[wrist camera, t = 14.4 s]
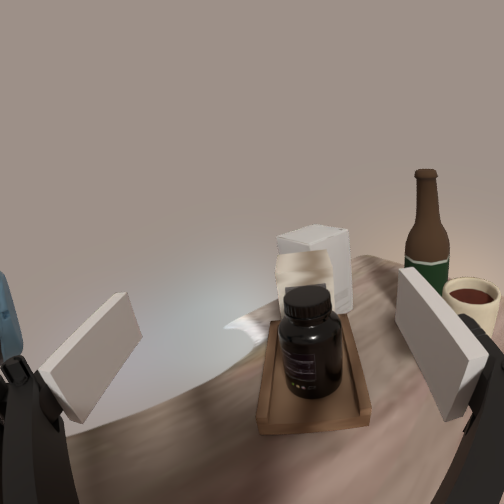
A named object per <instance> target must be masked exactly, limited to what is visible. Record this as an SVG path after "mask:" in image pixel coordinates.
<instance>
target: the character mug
mask: <svg viewBox="0 0 504 504" xmlns="http://www.w3.org/2000/svg"><path fill="white" fill-rule="evenodd" d="M442 298H443V299H444V300H445V301H446V303H447V304H448V305H449V306H450V307H451V308H452V309H453V311H454V312H455V313H456V314H457V315H458V314H463V313H464V314H466V315H468V316H470V317H471V318H473V319H474V320H475V321H476V322H477V323H478V324H479V325H480V327H481V328H482V329H483V330H484V331H485V332H486V334H487V335H488V336H489V337H490V338H491V337H492V334H493V330H494V326H495V322H496V318H497V313H498V309H499V304H500V299H501V292H500V290H499V288H498V287H497V286H496V285H494V284H493V283H491V282H489V281H487V280H485V279H480V278H475V277H460V278H454V279H451V280H449V281H447V282H446V283H445V285H444V287H443V293H442Z"/></svg>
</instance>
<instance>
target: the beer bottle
mask: <svg viewBox="0 0 504 504" xmlns="http://www.w3.org/2000/svg"><path fill="white" fill-rule="evenodd" d="M414 177H415V178H416V179H417V209H416V219H415V224H414V226H413V228H412V229H411V231H410V233H409V235H408V238H407V241H406V246H405V267H404V268H409V267H414V268H415V269H416V270H417V271H418V272H419V273H420V274H421V275H422V276H423V277H424V278H425V280H426V281H427V282H428V283H429V284H430V285H431V286H432V287H433V288H434V289H435V290H436V291H437V293H438V294H439V295H440V296H441V297H442V293H443V287H444V285H445V283H446V282H447V281H448V269H449V256H450V247H449V246H450V244H449V239H448V235H447V232H446V230H445V229H444V227H443V225H442V224H441V220H440V214H439V205H438V193H437V183H436V178H437V177H438V176H437V173H436V170H434V169H418V170H416V171H415V176H414Z"/></svg>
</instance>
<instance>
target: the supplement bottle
mask: <svg viewBox="0 0 504 504" xmlns="http://www.w3.org/2000/svg"><path fill="white" fill-rule="evenodd" d="M283 303H284V314H285V316H284V317H283V319H282V320H281V322H280V324H279V327H278V335H279V341H280V347H281V354H282V360H283V366H284V373H285V379H286V384H287V387H288V389H289V390H290V391H291V392H292V393H293V394H294V395H296V396H298V397H300V398H303V399H320V398H324V397H326V396H329V395H330V394H332V393H333V392H335V391H336V390H337V389H338V387H339V386H340V384H341V382H342V376H343V346H342V323H341V319H340V318H339V316H338V315H337V314H336V313H335V312H334V311H333V310H332V303H331V295H330V292H329V290H328V289H326V288H324V287H321V286H317V285H307V286H301V287H297V288H294V289H292V290H290V291H288V292H287V293H286V294H285V295H284V297H283Z"/></svg>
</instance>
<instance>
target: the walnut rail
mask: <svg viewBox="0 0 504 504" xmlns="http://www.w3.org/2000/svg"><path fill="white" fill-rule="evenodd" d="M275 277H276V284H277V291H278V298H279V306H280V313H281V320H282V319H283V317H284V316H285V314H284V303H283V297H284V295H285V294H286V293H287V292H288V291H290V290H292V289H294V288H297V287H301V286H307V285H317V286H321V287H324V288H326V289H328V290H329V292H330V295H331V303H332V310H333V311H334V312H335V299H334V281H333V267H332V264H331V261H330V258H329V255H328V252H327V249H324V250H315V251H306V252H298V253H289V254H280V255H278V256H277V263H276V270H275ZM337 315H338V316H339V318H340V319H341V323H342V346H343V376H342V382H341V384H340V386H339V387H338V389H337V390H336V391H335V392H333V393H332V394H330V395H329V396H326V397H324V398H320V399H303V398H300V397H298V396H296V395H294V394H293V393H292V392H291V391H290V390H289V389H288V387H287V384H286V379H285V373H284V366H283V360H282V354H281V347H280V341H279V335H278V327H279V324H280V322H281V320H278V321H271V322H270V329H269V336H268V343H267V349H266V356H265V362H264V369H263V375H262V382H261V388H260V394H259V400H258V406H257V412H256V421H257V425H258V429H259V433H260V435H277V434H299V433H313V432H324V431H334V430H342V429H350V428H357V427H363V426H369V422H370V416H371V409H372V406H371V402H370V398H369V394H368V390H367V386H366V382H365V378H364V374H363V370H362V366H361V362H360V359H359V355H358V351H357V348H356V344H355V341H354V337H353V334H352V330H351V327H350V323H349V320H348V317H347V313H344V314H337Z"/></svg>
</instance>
